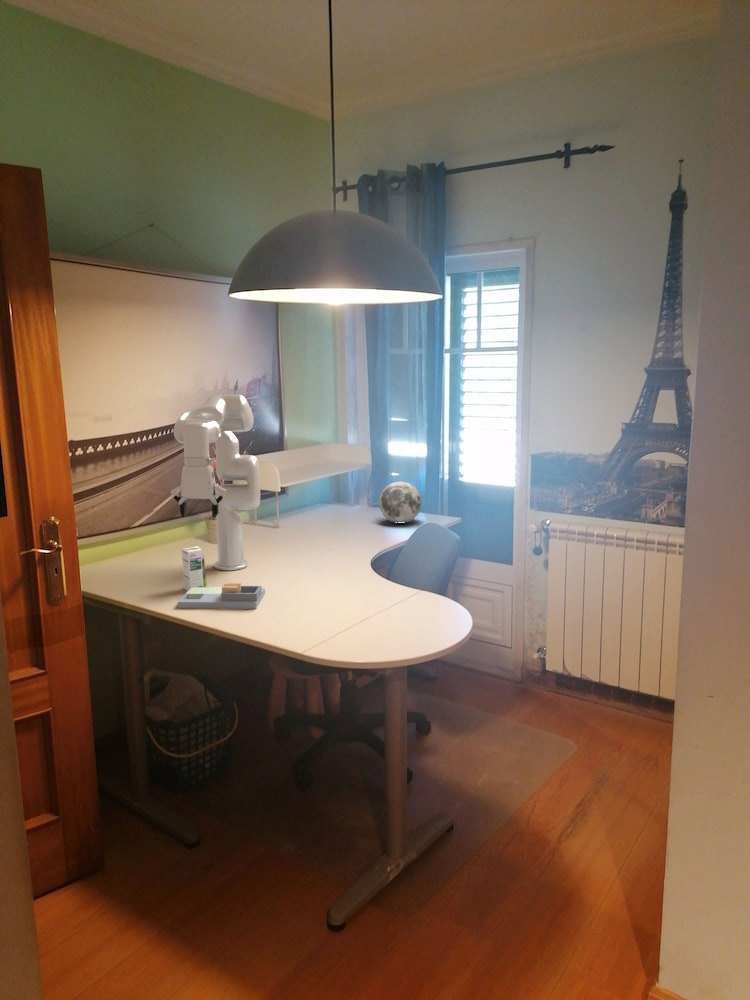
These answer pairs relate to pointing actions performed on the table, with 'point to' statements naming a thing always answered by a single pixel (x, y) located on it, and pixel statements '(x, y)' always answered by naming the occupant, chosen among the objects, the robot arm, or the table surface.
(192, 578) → the syrup box
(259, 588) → the grey sorting tray
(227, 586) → the block
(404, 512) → the moon model
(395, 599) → the table surface
